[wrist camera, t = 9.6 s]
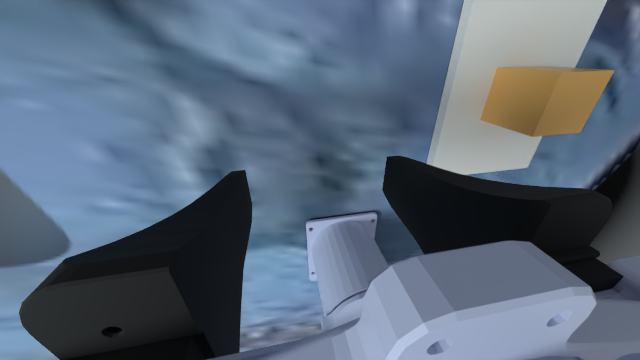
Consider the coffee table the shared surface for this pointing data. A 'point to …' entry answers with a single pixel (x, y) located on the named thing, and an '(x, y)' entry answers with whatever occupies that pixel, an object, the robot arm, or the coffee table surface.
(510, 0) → the plate
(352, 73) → the coffee table surface
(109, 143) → the coffee table surface
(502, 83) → the tan cardboard-like box
